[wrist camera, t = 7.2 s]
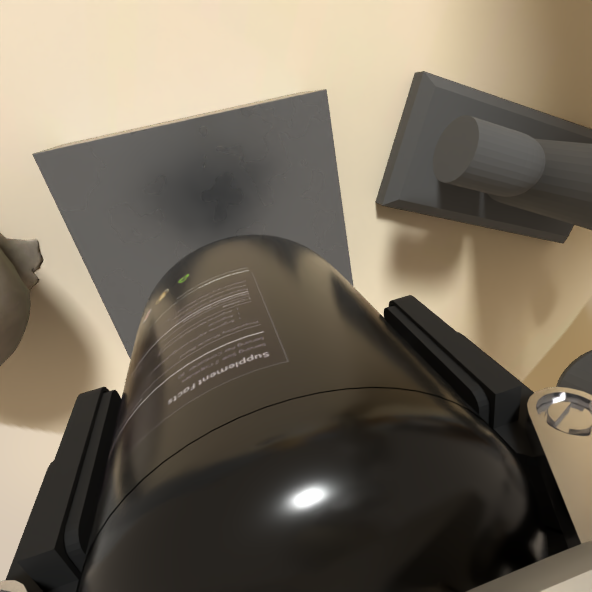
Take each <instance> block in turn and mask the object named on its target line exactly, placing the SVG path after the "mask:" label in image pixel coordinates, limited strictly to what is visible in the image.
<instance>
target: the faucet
mask: <svg viewBox="0 0 592 592" xmlns="http://www.w3.org/2000/svg"><path fill="white" fill-rule="evenodd" d="M376 203H378V204H380V205H382V206H387V207H392V208H397V209H401V210H406V211H411V212H416V213H420V214H425V215H430V216H435V217H439V218H444V219H449V220H454V221H459V222H463V223H468V224H473V225H478V226H482V227H487V228H492V229H497V230H501V231H506V232H511V233H516V234H520V235H525V236H530V237H535V238H539V239H544V240H549V241H554V242H558V243H564V242H565V240H566V239H567V237H568V236H569V234H570V232H571V230H572V228H573V226H574V225H577V226H580V227H583V228H587V229H590V230H592V129H589V128H586V127H583V126H580V125H577V124H574V123H572V122H569V121H566V120H563V119H560V118H557V117H554V116H551V115H548V114H546V113H543V112H540V111H537V110H534V109H531V108H528V107H525V106H522V105H520V104H517V103H514V102H511V101H508V100H505V99H502V98H499V97H496V96H494V95H491V94H488V93H485V92H482V91H479V90H476V89H473V88H470V87H468V86H465V85H462V84H459V83H456V82H453V81H450V80H447V79H444V78H442V77H439V76H436V75H433V74H430V73H427V72H424V71H423V72H417V73H415V74H414V78H413V81H412V84H411V88H410V91H409V94H408V97H407V101H406V104H405V107H404V110H403V114H402V117H401V120H400V124H399V127H398V130H397V133H396V137H395V140H394V143H393V146H392V150H391V153H390V156H389V160H388V163H387V166H386V169H385V173H384V176H383V179H382V182H381V186H380V189H379V192H378V196H377V199H376ZM556 387H564V388H572V389H576V390H580V391H583V392H586V393H588V394H590V395H592V350H591V351H589V352H587V353H585V354H583V355H581V356H580V357H578V358H577V359H575V360H574V361H573V362H572V363H571V364H570V365H569V366H568V367H567V368H566V369H565V371H564V372H563V373H562V375H561V377H560V378H559V380H558V383H557V386H556Z"/></svg>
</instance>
